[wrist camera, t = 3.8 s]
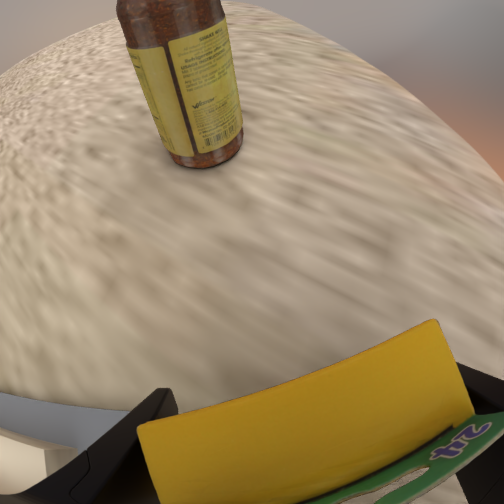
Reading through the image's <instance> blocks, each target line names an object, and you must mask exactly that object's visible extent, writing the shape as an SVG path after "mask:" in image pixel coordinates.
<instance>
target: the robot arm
mask: <svg viewBox="0 0 504 504" xmlns="http://www.w3.org/2000/svg"><path fill="white" fill-rule="evenodd" d="M456 364H457V367H458V369H459V372H460V374H461V377H462V379H463V382H464V385H465V387H466V389H467V392H468V395H469V397H470V400H471V403H472V405H473V407H474V412H475V415H487V414H494V413H499V412H504V380H501V379H498V378H496V377H493V376H491V375H488V374H485V373H483V372H480V371H478V370H475V369H473V368H470V367H468V366H465V365H462V364H460V363H457V362H456ZM174 415H178V407H177V404H176V401H175V398H174V395H173V392H172V390H171V389H170V388H157V389H156V390H155V391H154V392H152V393H151V394H150V395H149V396H148V397H147V398H146V399H144V400H143V401H142V402H141V403H140V404H139V405H137V406H136V407H135V408H134V409H133V410H132V411H131V412H129V413H128V414H127V415H126V416H125V417H124V418H122V419H121V420H120V421H119V422H118V423H117V424H115V425H114V426H113V427H112V428H111V429H109V430H108V431H107V432H106V433H105V434H103V435H102V436H101V437H100V438H99V439H97V440H96V441H95V442H94V443H93V444H91V445H90V446H89V447H88V448H87V450H84V451H83V452H82V453H80V454H79V455H78V456H77V457H75V458H74V459H73V460H71V461H70V462H69V463H68V464H66V465H65V466H63V467H62V468H60V469H59V470H57V471H56V472H54V473H53V474H51V475H50V476H48V477H46V478H45V479H43V480H42V481H40V482H38V483H37V484H35V485H33V486H32V487H30V488H28V489H26V490H24V491H22V492H20V493H16V494H0V504H161V503H160V501H159V498H158V495H157V492H156V489H155V487H154V485H153V482H152V479H151V476H150V473H149V470H148V467H147V463H146V461H145V457H144V454H143V451H142V447H141V443H140V440H139V437H138V434H137V431H136V429H137V427H138V426H139V425H141V424H145V423H146V422H149V421H154V420H158V419H162V418H166V417H170V416H174ZM455 474H456V476H457V478H458V480H459V483H460V485H461V487H462V489H463V492H464V494H465V496H466V499H467V501H468V503H469V504H504V434H503V435H502V436H501V437H500V438H498V439H497V440H496V441H495V442H494V443H493V444H492V445H490V446H489V447H488V448H487V449H486V450H485V451H483V452H482V453H481V454H480V455H478V456H477V457H476V458H474V459H473V460H472V461H471V462H469V463H468V464H467V465H466V466H465V467H463V468H462V469H460V470H459V471H458V472H456V473H455Z"/></svg>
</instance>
